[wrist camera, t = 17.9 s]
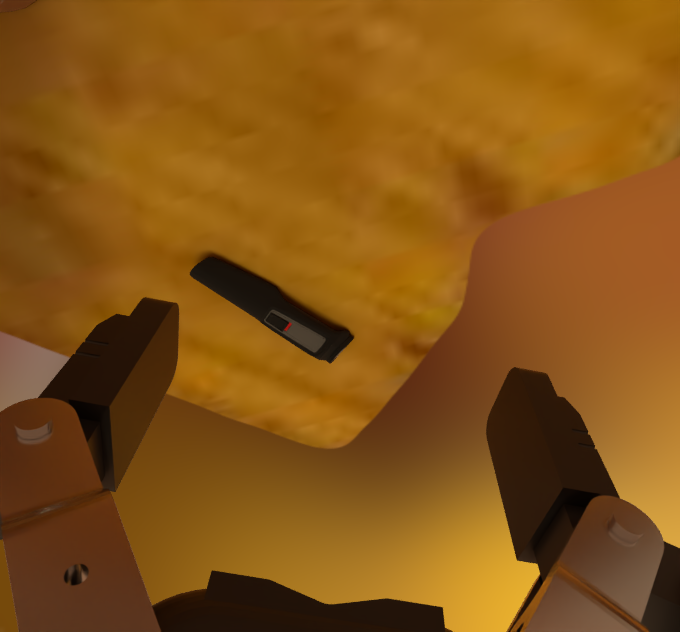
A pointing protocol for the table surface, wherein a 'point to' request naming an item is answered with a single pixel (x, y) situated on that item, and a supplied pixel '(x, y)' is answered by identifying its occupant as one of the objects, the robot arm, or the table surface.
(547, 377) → the robot arm
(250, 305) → the electric trimmer
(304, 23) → the table surface
